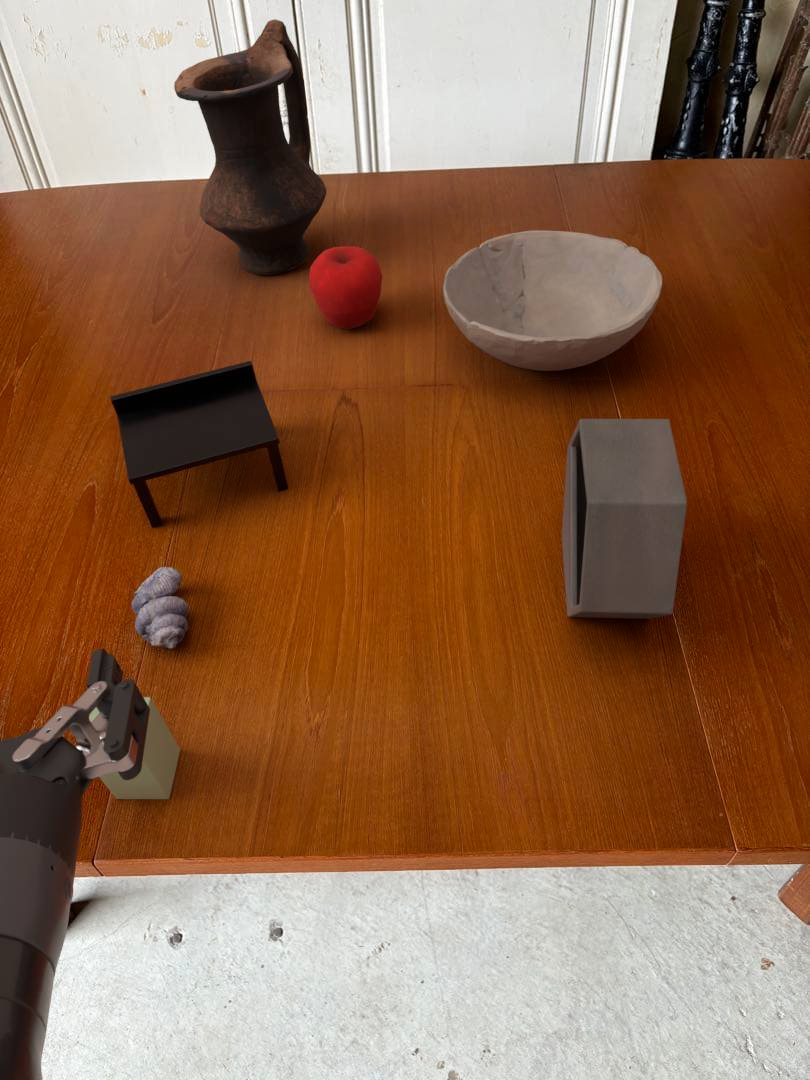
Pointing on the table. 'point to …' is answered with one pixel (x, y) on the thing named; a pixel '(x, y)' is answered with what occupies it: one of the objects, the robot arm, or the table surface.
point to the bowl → (551, 297)
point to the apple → (346, 285)
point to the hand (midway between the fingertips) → (41, 678)
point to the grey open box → (622, 519)
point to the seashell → (161, 609)
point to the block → (148, 762)
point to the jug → (257, 151)
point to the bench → (194, 427)
